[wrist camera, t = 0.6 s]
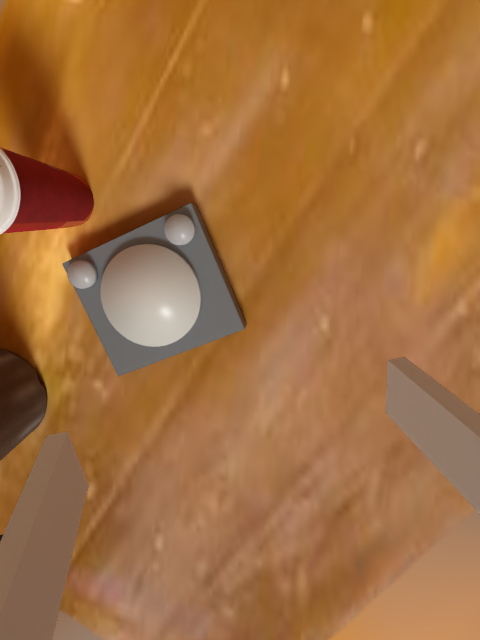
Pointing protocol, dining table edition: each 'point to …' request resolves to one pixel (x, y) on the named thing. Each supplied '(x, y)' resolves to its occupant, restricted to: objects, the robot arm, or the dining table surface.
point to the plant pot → (18, 401)
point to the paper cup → (40, 195)
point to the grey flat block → (156, 291)
